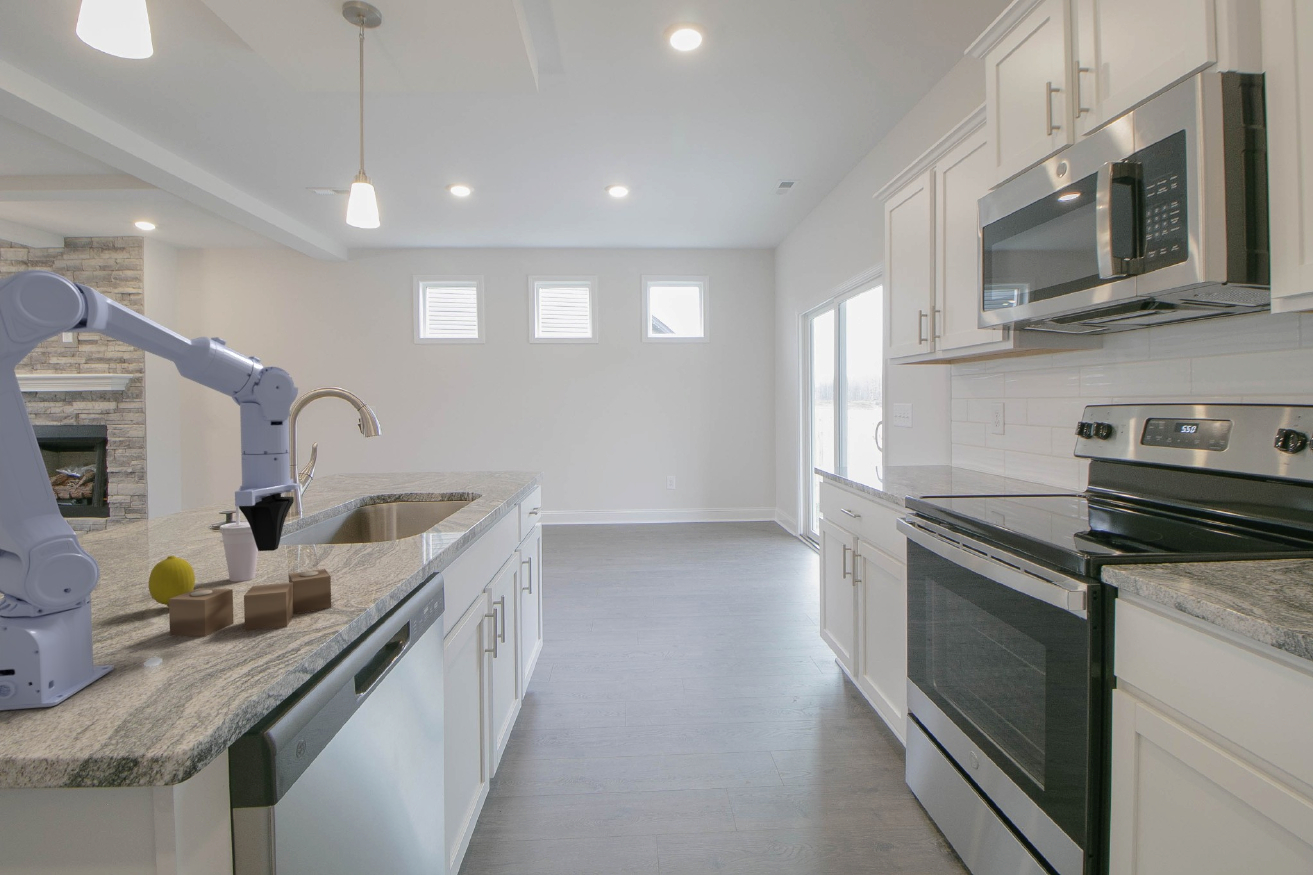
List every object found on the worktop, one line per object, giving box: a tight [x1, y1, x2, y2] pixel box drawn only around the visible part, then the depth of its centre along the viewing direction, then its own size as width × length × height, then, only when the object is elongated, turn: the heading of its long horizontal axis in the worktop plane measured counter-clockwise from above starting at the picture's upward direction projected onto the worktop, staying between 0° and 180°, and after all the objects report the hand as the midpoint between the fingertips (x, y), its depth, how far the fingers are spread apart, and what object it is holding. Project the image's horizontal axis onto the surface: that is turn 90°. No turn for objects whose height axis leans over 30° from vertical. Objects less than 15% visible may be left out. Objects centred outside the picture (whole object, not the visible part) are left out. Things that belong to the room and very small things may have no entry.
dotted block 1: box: [168, 587, 234, 638], centre depth 85 cm, size 5×5×5 cm
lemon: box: [148, 555, 196, 608], centre depth 94 cm, size 6×6×8 cm
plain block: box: [243, 582, 294, 632], centre depth 88 cm, size 5×5×5 cm
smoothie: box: [218, 506, 259, 583], centre depth 110 cm, size 6×6×14 cm
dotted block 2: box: [288, 568, 332, 615], centre depth 95 cm, size 5×5×5 cm
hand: (268, 549), depth 88 cm, fingers closed
